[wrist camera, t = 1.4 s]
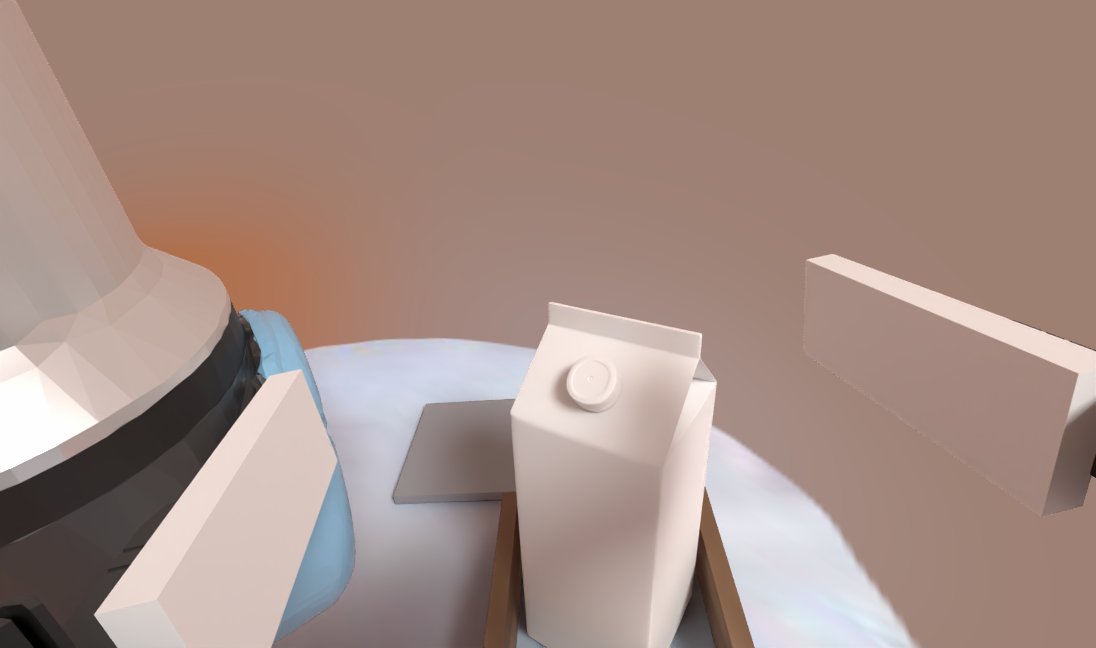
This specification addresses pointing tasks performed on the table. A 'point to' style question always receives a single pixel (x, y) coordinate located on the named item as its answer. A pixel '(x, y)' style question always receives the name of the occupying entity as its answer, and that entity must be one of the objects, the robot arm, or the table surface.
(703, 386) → the milk carton
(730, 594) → the walnut holder
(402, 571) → the table surface
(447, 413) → the slate pad
